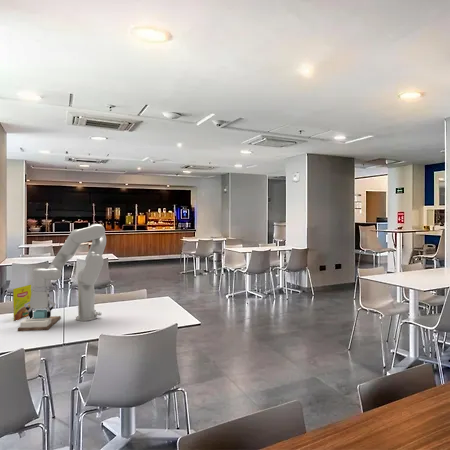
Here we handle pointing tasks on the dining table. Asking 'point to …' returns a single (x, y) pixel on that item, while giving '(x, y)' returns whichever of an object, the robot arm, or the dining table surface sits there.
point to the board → (53, 321)
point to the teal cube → (40, 314)
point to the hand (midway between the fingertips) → (39, 317)
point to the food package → (21, 301)
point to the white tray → (35, 322)
